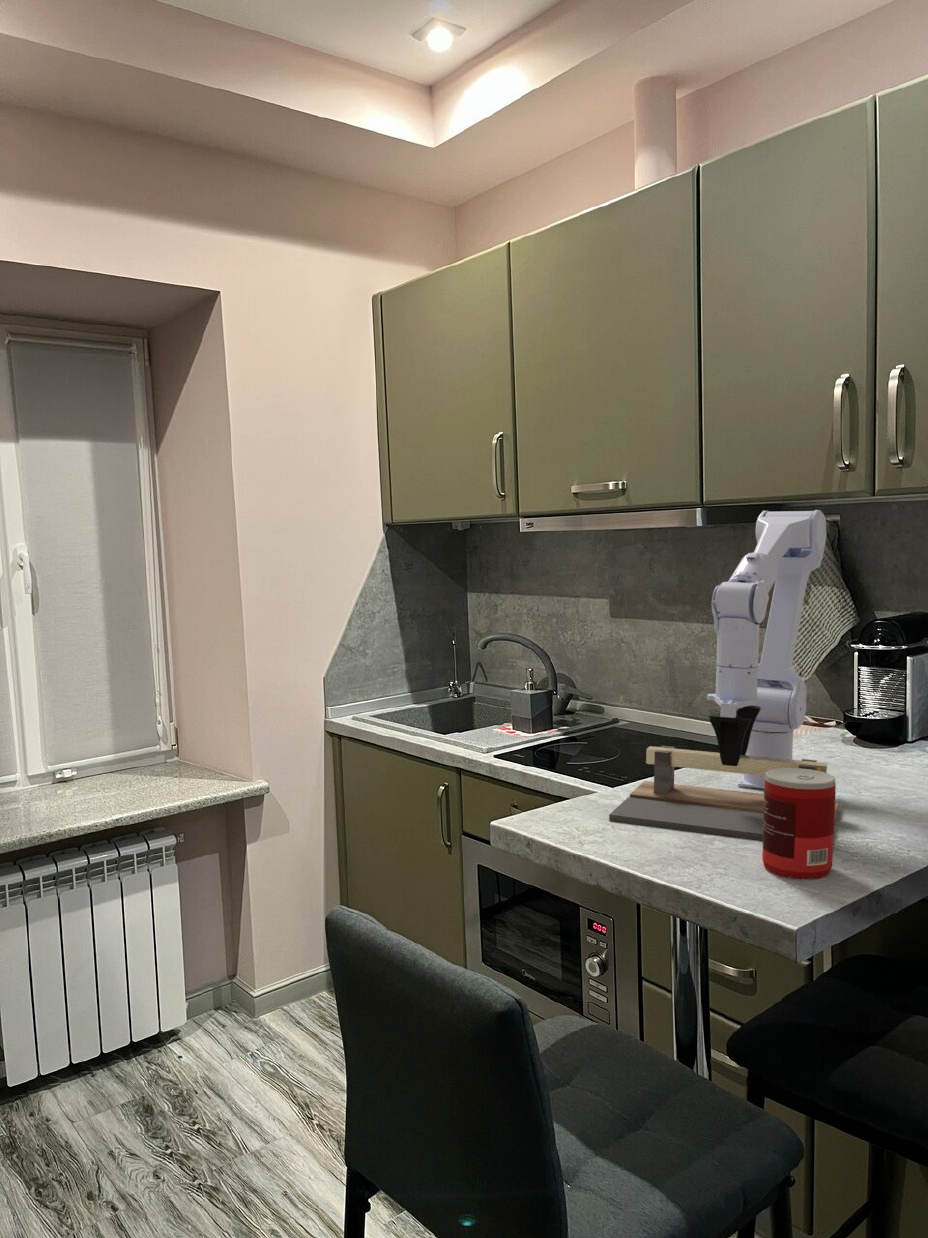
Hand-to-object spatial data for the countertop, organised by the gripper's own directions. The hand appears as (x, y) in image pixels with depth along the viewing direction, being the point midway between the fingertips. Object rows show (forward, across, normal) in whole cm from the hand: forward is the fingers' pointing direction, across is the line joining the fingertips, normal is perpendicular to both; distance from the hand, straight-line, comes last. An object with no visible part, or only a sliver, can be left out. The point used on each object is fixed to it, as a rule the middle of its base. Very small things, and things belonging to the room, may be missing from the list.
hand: (734, 760), depth 138 cm
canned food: (+7, +25, +11) cm, 28 cm away
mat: (+7, +10, 0) cm, 12 cm away
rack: (+7, 0, 0) cm, 7 cm away
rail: (+2, 0, 0) cm, 2 cm away
